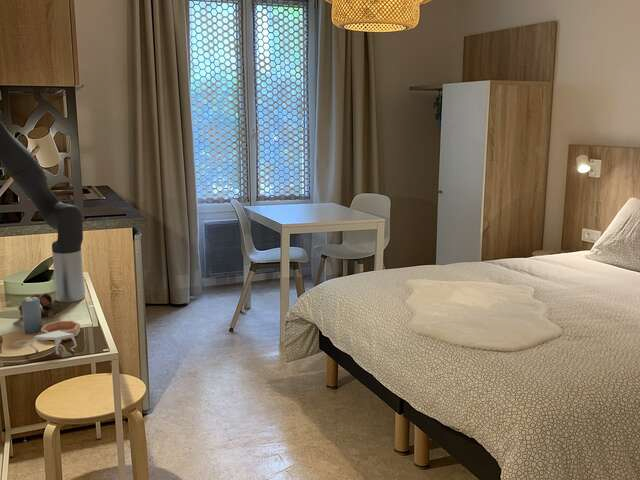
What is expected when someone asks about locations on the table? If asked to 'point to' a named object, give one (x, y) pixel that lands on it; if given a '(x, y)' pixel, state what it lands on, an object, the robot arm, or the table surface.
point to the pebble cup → (31, 315)
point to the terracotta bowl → (62, 328)
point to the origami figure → (54, 338)
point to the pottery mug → (44, 304)
